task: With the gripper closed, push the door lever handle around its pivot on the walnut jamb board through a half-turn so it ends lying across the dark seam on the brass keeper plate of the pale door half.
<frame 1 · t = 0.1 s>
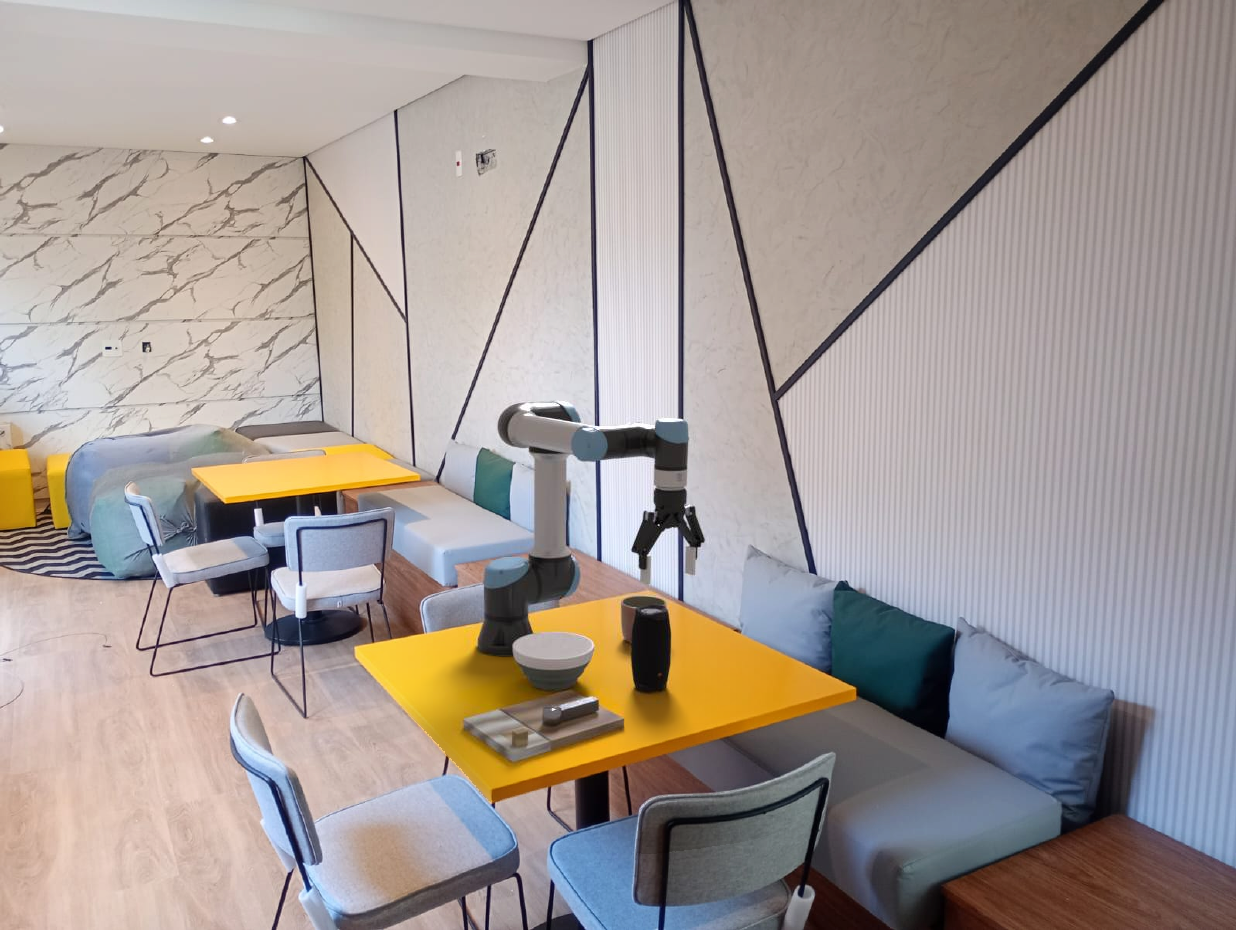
hand: (668, 578, 222), 28 cm above the table, fingers open, 13 cm apart
door lever handle: (570, 709, 207), point 4 cm above the table, hinge at 0.0°
jamb board: (543, 727, 207), on the table
planter: (642, 641, 264), on the table
portable speaker: (650, 688, 231), on the table
bowl: (553, 683, 233), on the table
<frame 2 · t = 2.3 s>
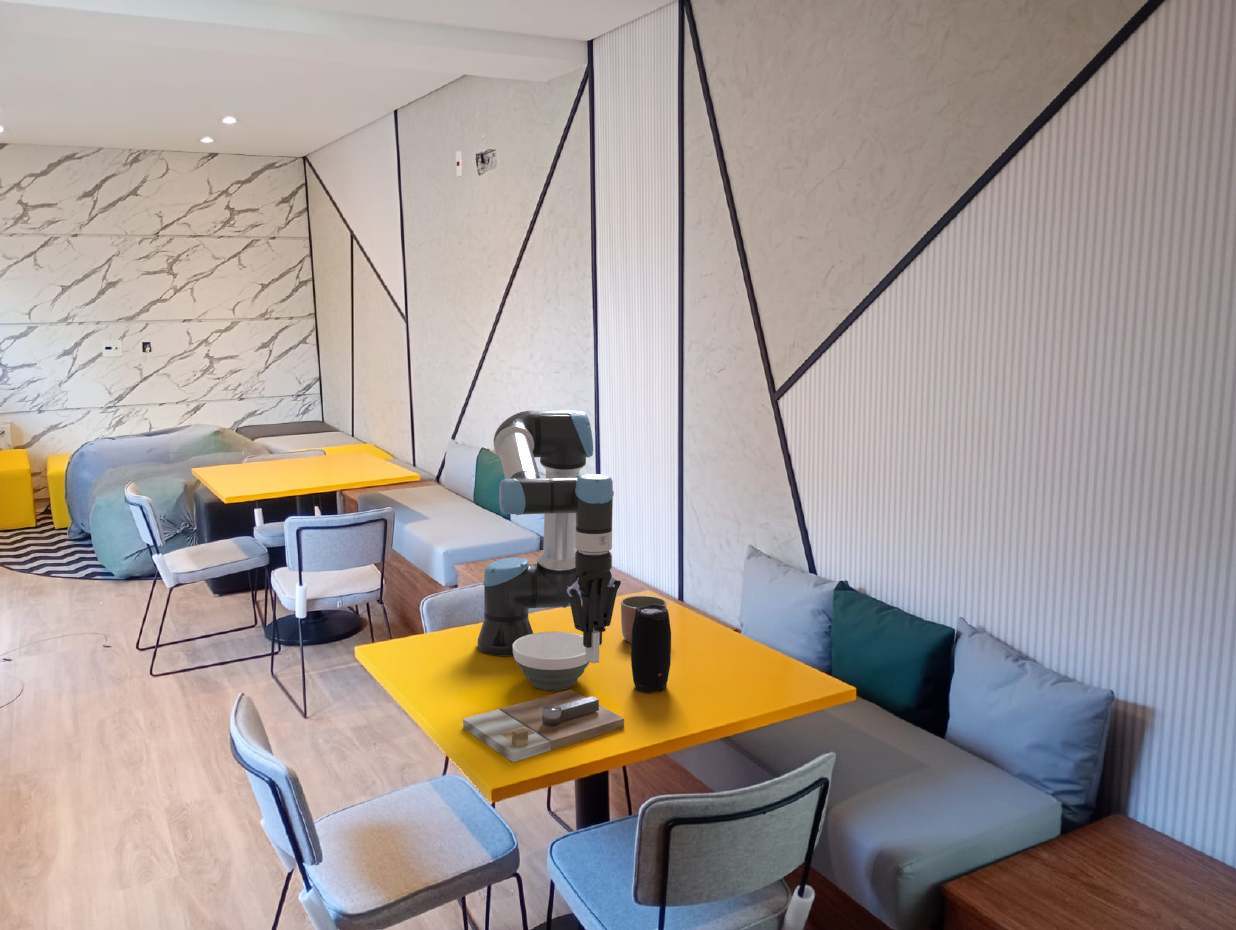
hand: (592, 660, 201), 16 cm above the table, fingers closed
nothing on the table moved.
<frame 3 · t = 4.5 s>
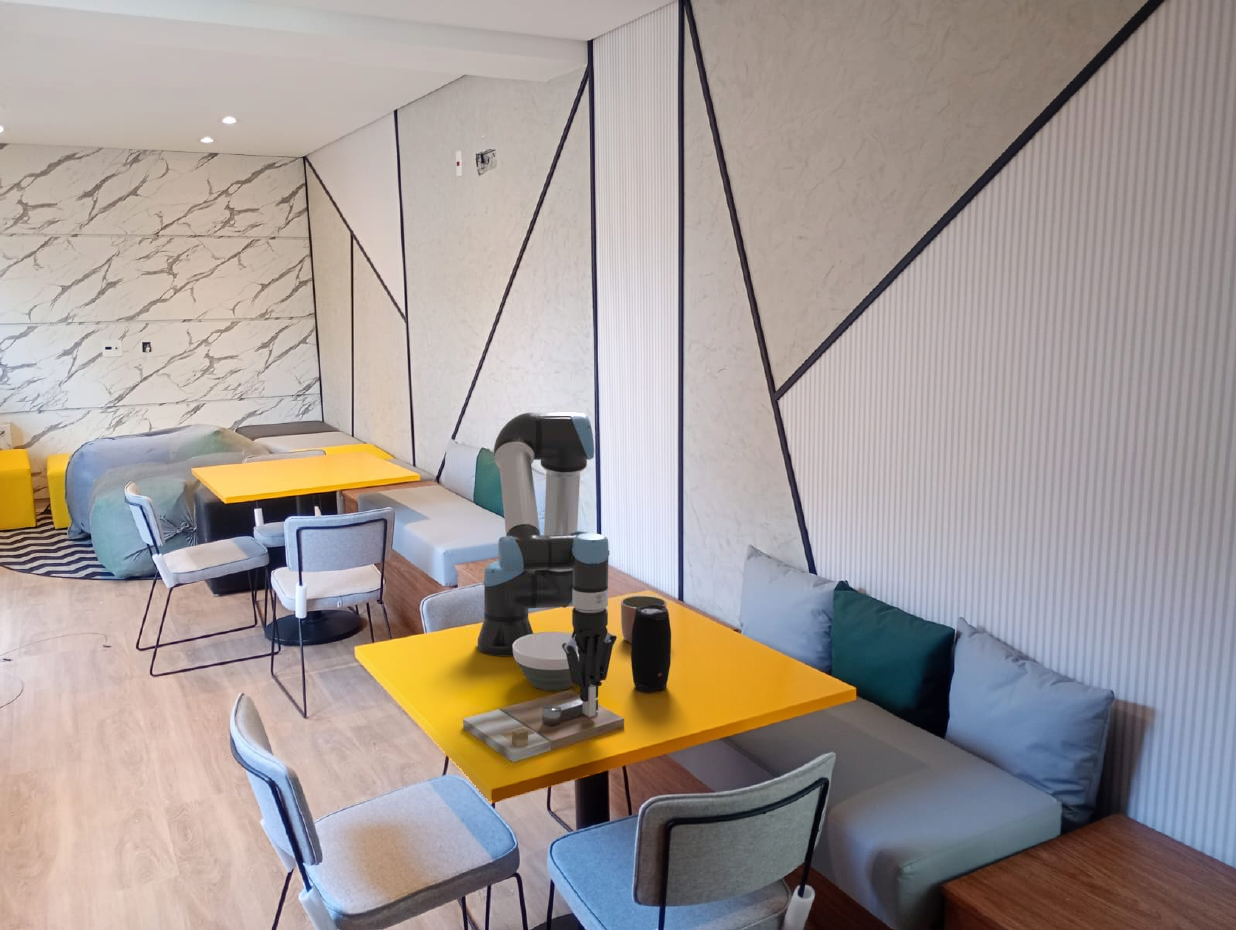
hand: (588, 713, 207), 3 cm above the table, fingers closed
door lever handle: (569, 709, 207), point 4 cm above the table, hinge at 1.2°, touching gripper
everything else where it was.
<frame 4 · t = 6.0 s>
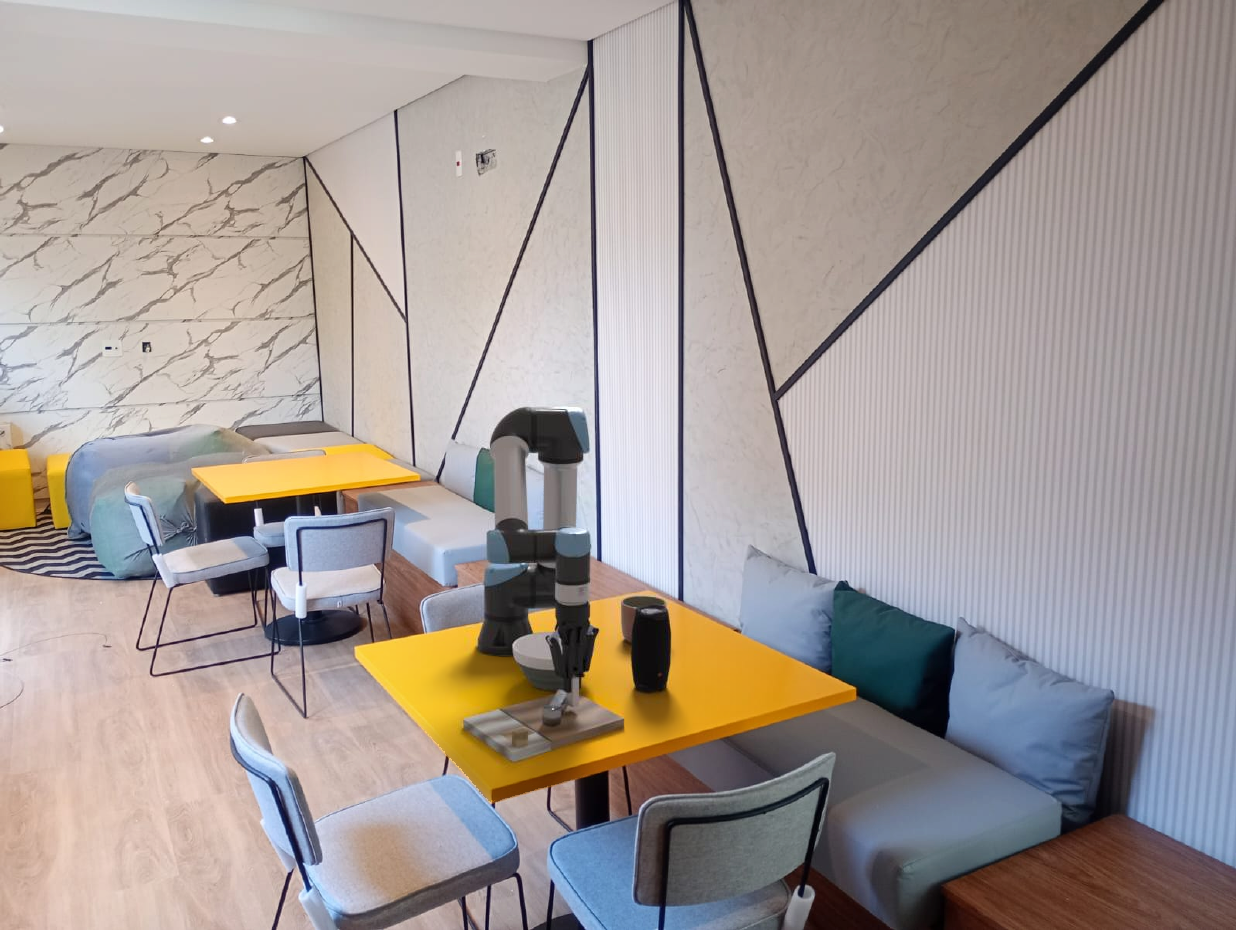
hand: (572, 705, 211), 3 cm above the table, fingers closed
door lever handle: (556, 706, 209), point 4 cm above the table, hinge at 42.7°, touching gripper
everything else where it was.
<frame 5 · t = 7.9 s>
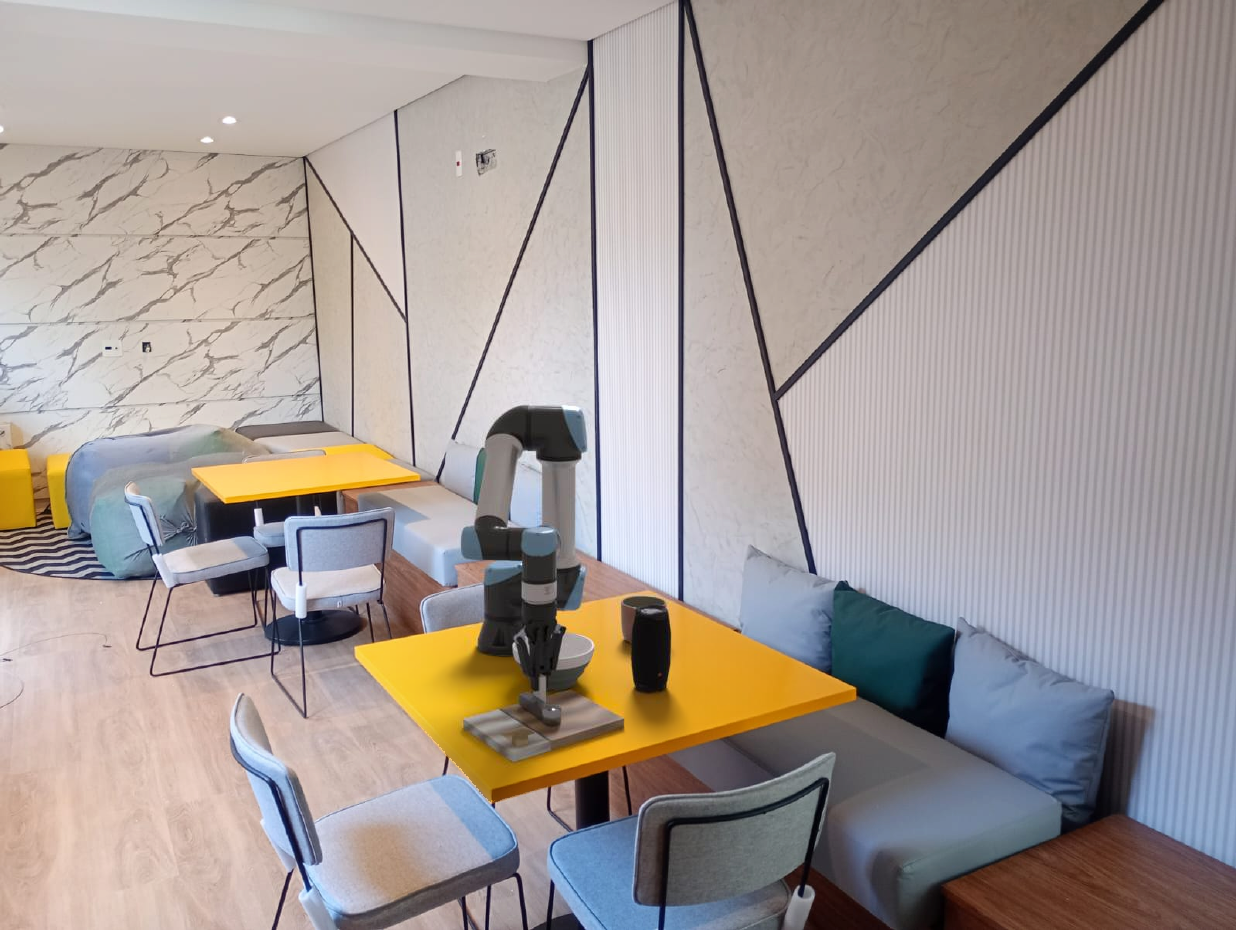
hand: (539, 703, 212), 3 cm above the table, fingers closed
door lever handle: (539, 707, 208), point 4 cm above the table, hinge at 88.5°, touching gripper
everything else where it was.
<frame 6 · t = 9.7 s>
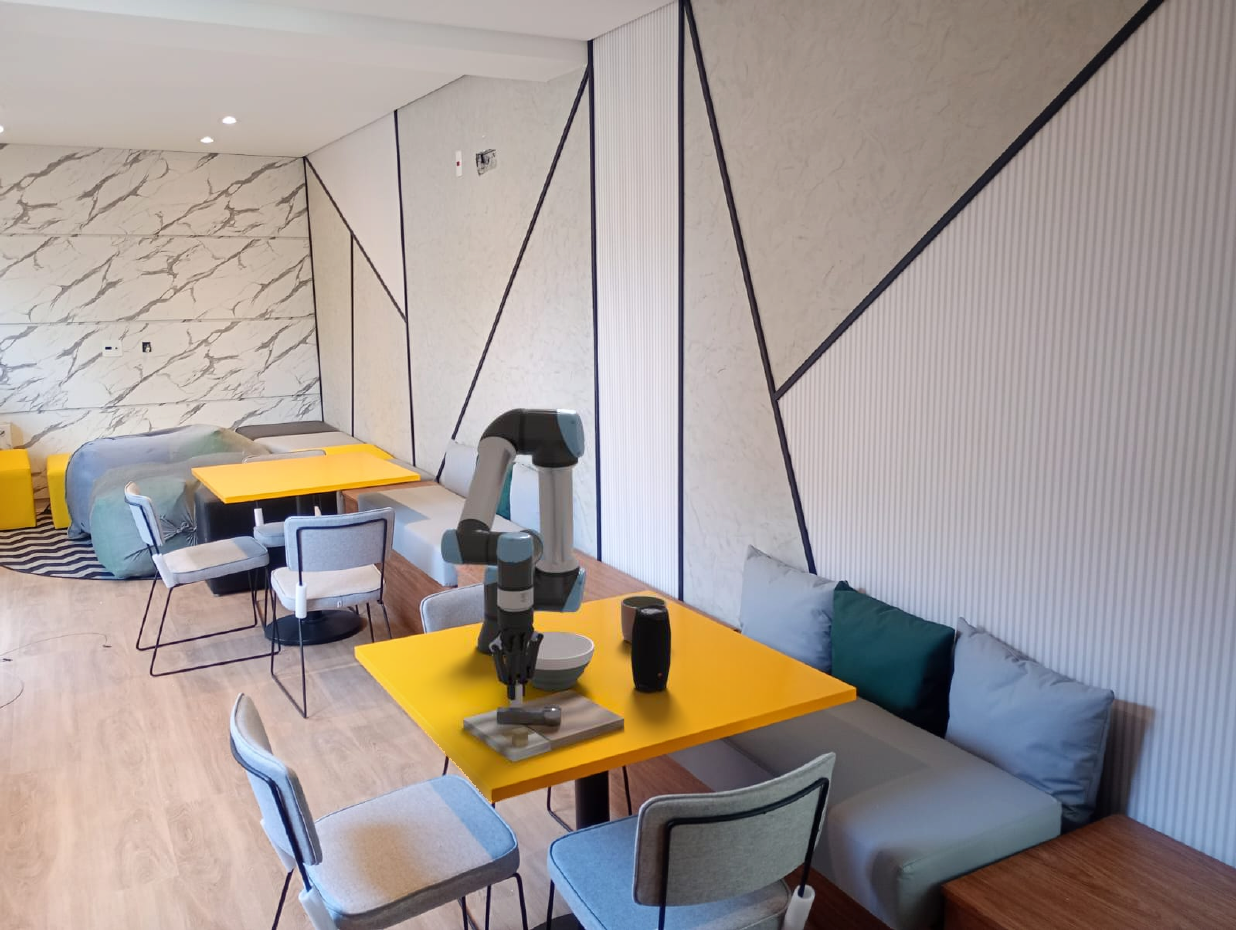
hand: (516, 712, 207), 3 cm above the table, fingers closed
door lever handle: (529, 714, 204), point 4 cm above the table, hinge at 141.9°, touching gripper
everything else where it was.
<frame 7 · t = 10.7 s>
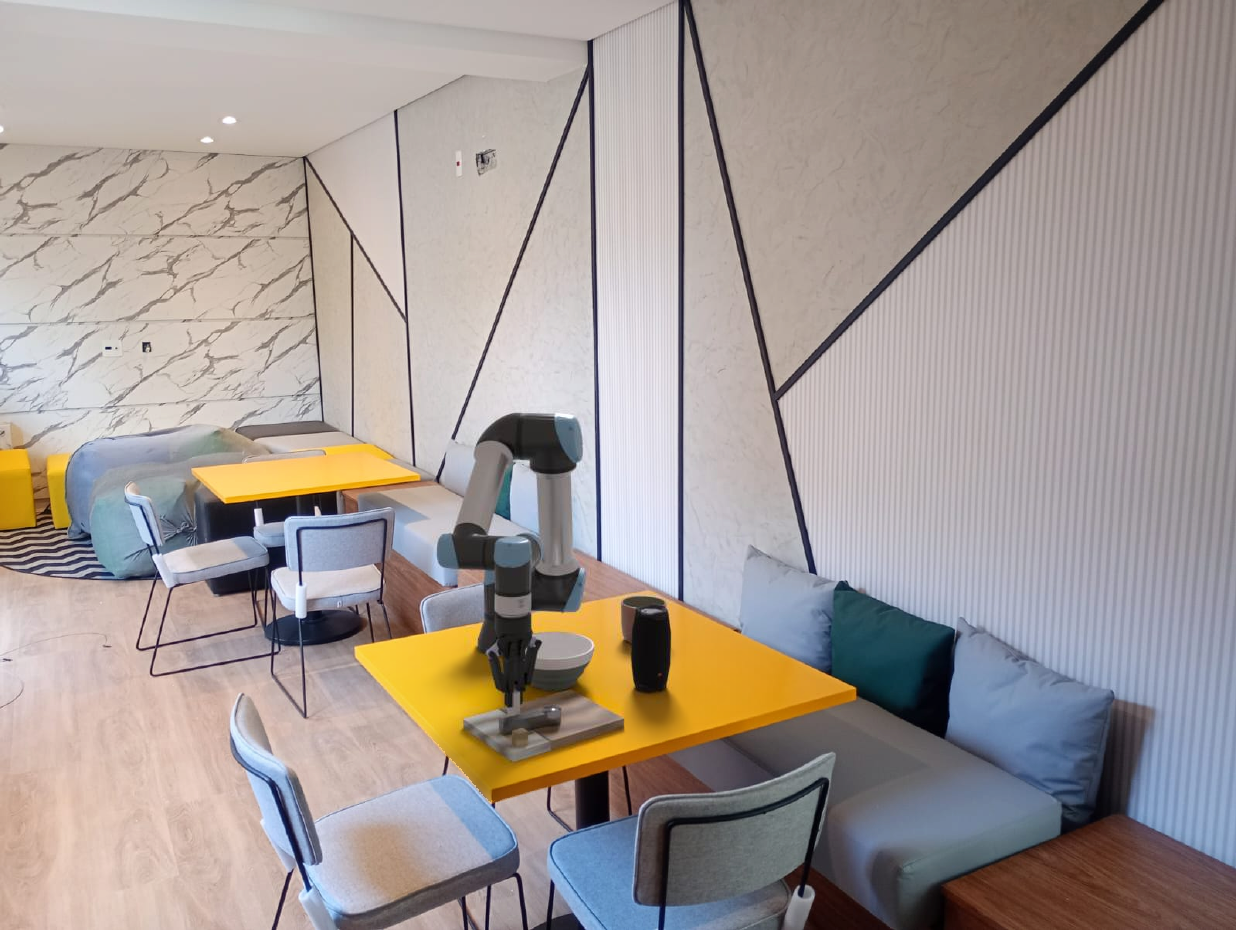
hand: (513, 719, 203), 3 cm above the table, fingers closed
door lever handle: (531, 719, 202), point 4 cm above the table, hinge at 171.2°, touching gripper
everything else where it was.
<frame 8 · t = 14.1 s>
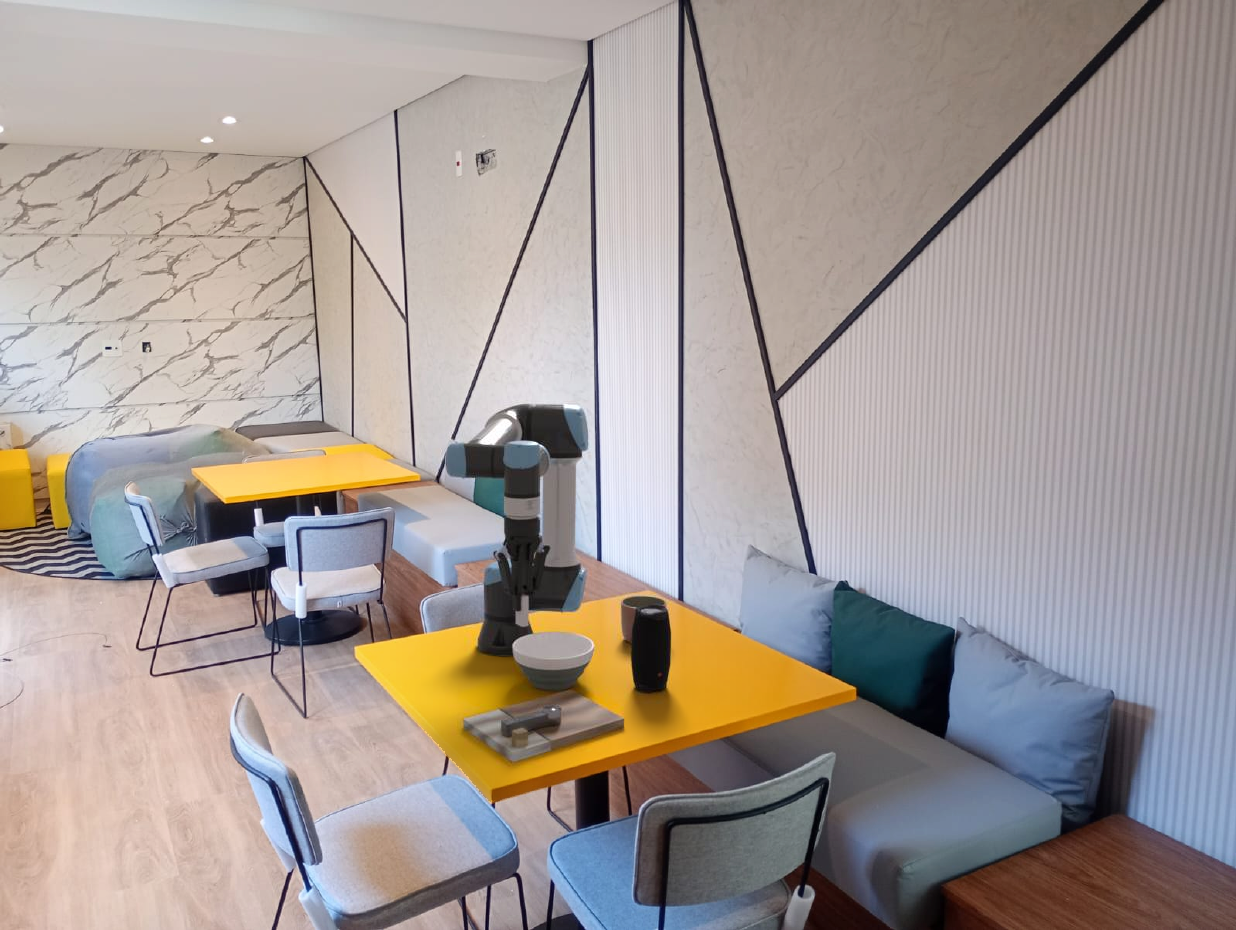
hand: (522, 624, 205), 22 cm above the table, fingers closed
door lever handle: (532, 720, 202), point 4 cm above the table, hinge at 177.4°
everything else where it was.
at the end: door lever handle at +177° (first picture: +0°); door lever handle 0.0 cm from the target spot, resting on jamb board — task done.
